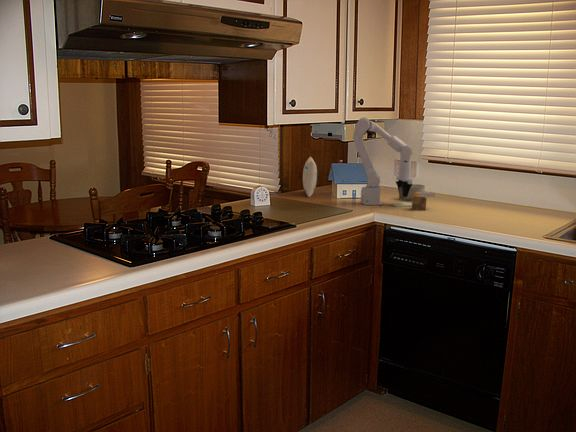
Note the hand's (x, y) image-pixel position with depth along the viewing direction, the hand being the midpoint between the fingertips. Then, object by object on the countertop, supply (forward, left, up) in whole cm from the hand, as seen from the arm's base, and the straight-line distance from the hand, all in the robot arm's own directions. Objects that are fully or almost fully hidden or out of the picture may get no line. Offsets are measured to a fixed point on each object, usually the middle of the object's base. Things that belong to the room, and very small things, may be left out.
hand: (403, 195), depth 301 cm
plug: (0, 0, -2) cm, 2 cm away
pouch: (-39, +36, -5) cm, 53 cm away
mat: (0, 0, -5) cm, 5 cm away
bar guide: (+3, -11, -5) cm, 13 cm away
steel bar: (+6, -11, +1) cm, 13 cm away
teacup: (+13, +14, -5) cm, 20 cm away
